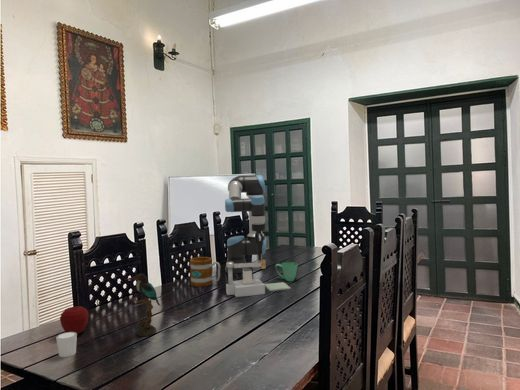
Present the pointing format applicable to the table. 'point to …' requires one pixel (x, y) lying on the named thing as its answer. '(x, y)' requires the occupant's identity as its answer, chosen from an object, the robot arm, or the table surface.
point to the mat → (277, 286)
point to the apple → (74, 319)
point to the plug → (247, 276)
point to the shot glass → (66, 344)
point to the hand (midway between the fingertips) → (259, 265)
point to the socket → (243, 287)
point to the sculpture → (148, 293)
